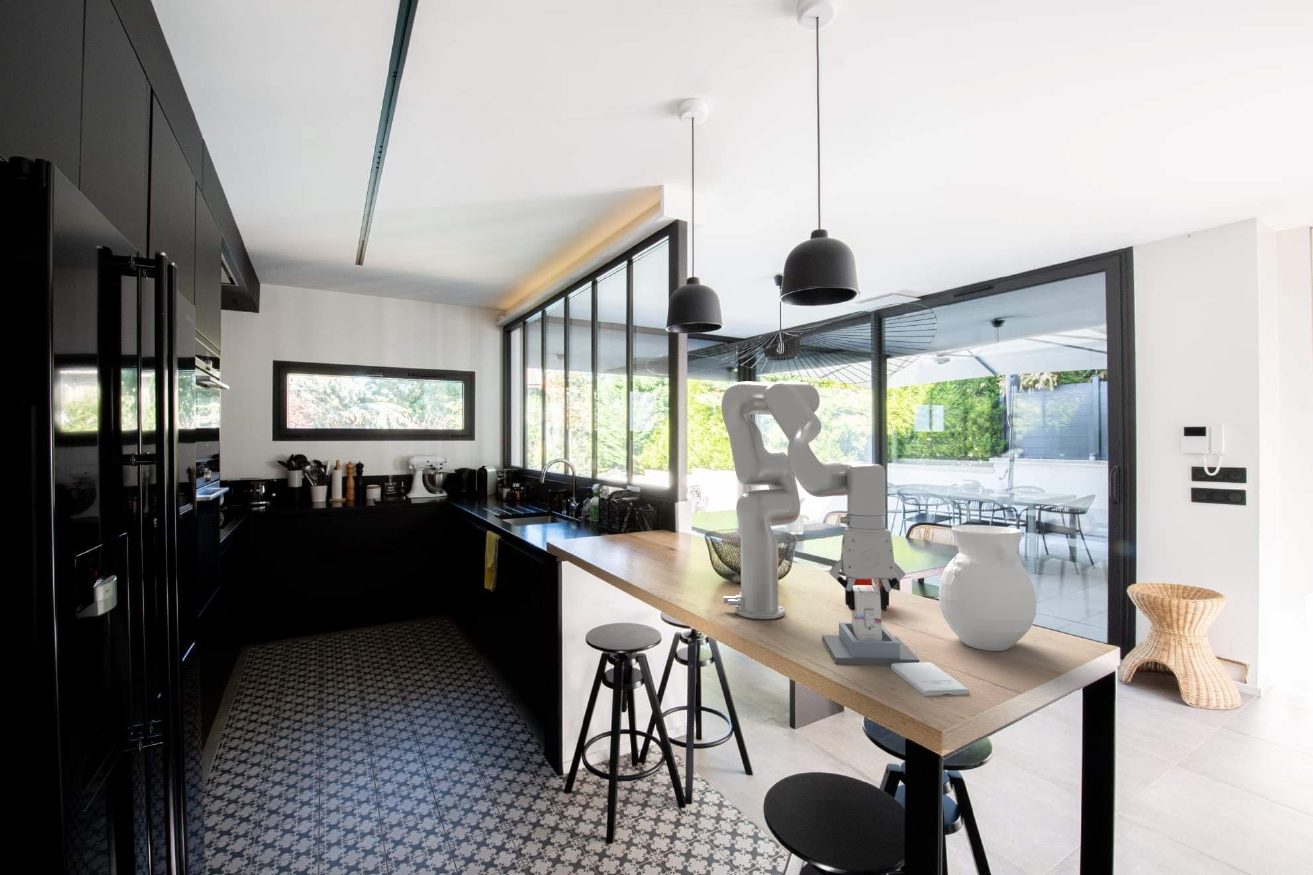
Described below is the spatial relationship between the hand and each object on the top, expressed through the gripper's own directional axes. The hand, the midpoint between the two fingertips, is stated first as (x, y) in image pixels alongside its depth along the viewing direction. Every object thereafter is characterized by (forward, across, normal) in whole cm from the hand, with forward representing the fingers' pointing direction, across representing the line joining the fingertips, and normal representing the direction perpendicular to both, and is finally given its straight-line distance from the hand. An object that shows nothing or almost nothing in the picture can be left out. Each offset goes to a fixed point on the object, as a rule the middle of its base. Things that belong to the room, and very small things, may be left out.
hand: (867, 608), depth 123 cm
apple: (+9, +10, +36) cm, 39 cm away
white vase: (+9, +27, +7) cm, 30 cm away
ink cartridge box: (+8, 0, 0) cm, 8 cm away
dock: (+9, 0, 0) cm, 9 cm away
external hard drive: (+10, +7, -14) cm, 19 cm away
